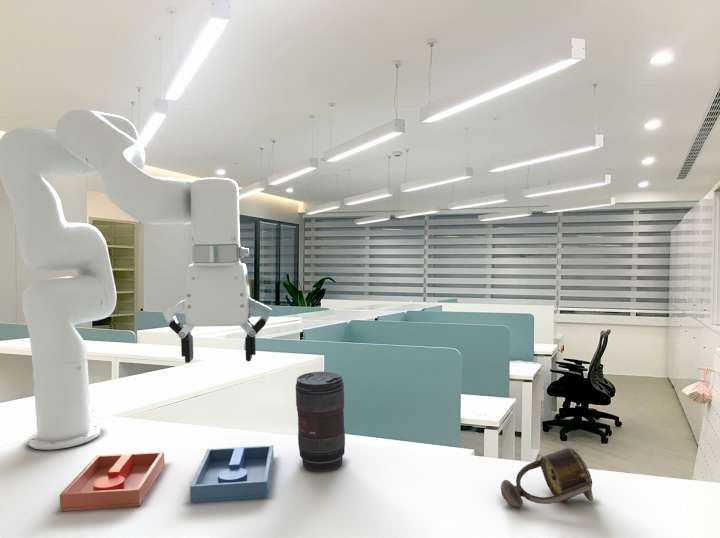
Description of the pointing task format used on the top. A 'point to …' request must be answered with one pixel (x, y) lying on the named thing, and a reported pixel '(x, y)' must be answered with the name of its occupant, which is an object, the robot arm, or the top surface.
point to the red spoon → (115, 475)
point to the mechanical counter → (553, 479)
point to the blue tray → (253, 488)
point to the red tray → (134, 493)
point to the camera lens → (320, 420)
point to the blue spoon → (234, 468)
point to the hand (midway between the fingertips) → (219, 360)
